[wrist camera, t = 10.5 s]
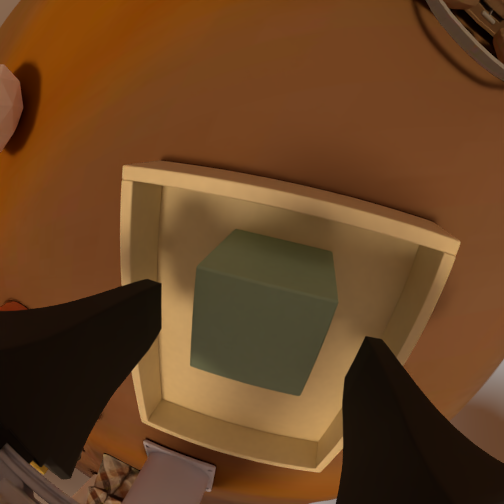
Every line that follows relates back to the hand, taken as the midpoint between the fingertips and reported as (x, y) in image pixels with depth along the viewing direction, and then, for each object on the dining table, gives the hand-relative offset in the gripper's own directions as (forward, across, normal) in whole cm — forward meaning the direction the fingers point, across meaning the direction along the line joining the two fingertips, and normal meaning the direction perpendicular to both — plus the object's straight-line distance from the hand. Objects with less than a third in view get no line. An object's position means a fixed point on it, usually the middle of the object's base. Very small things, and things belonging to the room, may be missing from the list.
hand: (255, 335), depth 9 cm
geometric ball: (+5, +22, -8) cm, 24 cm away
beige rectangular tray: (+5, 0, +4) cm, 6 cm away
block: (+4, 0, 0) cm, 4 cm away
